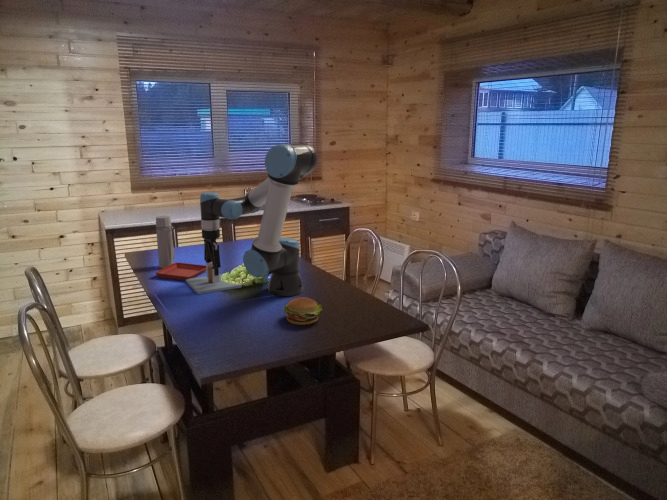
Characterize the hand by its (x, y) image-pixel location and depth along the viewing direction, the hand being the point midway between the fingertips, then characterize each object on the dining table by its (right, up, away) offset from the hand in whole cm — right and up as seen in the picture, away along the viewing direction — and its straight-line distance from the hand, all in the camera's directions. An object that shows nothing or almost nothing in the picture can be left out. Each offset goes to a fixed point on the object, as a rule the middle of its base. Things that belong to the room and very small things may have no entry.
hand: (213, 279), depth 221 cm
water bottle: (-28, +4, +26) cm, 39 cm away
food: (+41, -13, -35) cm, 56 cm away
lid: (0, -2, 0) cm, 2 cm away
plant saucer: (-17, +1, +14) cm, 22 cm away
